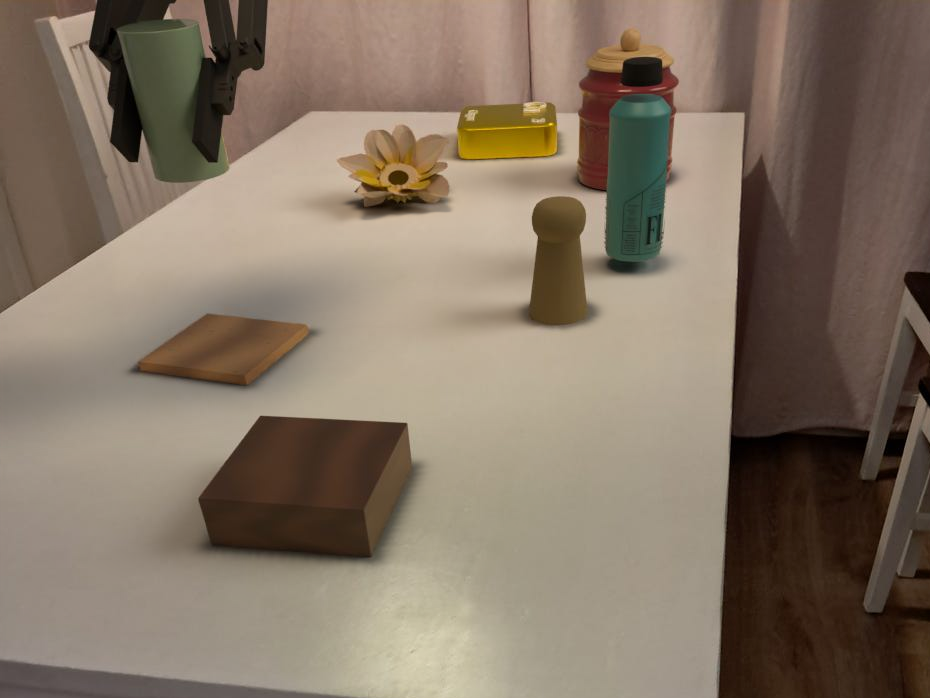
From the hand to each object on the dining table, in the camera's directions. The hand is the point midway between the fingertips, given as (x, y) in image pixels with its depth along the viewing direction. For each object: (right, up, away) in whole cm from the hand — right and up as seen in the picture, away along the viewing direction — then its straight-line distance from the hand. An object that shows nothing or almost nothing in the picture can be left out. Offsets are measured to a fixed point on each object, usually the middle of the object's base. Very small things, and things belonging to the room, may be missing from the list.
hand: (164, 151), depth 70 cm
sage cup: (+1, +1, +4) cm, 4 cm away
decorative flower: (+13, +21, +54) cm, 60 cm away
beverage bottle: (+41, +5, +33) cm, 53 cm away
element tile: (+29, +40, +74) cm, 89 cm away
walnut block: (+12, -27, -1) cm, 30 cm away
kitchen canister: (+44, +27, +58) cm, 78 cm away
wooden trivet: (-1, -9, +21) cm, 23 cm away
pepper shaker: (+32, -4, +24) cm, 40 cm away
